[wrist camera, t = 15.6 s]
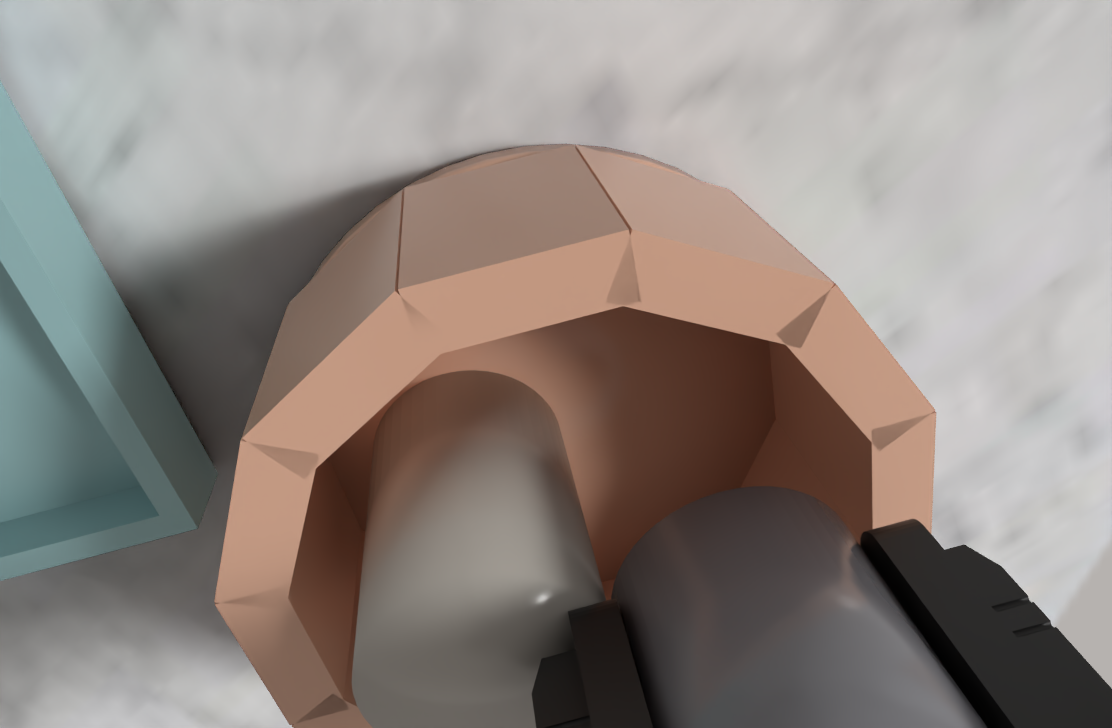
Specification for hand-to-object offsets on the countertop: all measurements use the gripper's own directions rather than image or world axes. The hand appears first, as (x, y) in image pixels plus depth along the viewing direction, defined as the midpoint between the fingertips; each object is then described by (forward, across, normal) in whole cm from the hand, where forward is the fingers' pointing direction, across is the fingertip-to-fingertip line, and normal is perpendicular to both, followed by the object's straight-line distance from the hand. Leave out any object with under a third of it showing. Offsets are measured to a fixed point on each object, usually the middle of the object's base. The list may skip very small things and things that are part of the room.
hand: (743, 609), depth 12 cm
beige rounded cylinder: (+5, +4, 0) cm, 7 cm away
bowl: (+6, +2, 0) cm, 6 cm away
